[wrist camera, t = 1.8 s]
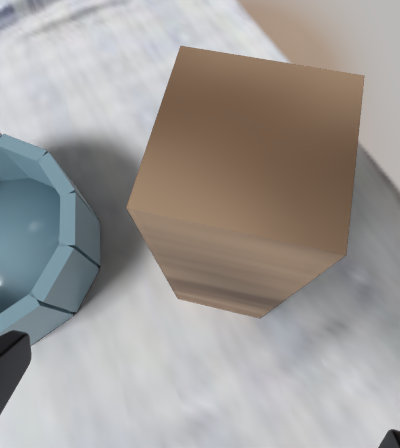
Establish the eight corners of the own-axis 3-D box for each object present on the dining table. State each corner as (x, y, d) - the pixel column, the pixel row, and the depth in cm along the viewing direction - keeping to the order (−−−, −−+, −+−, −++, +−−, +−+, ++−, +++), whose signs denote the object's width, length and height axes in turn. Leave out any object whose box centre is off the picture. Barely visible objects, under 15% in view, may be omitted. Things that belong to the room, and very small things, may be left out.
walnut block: (260, 318, 21) (346, 255, 8) (177, 298, 21) (126, 207, 8) (274, 239, 22) (364, 75, 9) (197, 222, 23) (180, 46, 10)
